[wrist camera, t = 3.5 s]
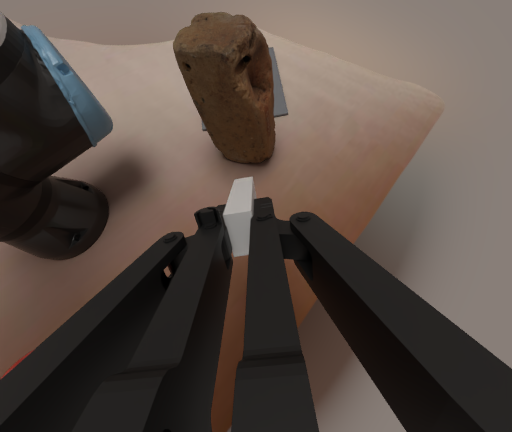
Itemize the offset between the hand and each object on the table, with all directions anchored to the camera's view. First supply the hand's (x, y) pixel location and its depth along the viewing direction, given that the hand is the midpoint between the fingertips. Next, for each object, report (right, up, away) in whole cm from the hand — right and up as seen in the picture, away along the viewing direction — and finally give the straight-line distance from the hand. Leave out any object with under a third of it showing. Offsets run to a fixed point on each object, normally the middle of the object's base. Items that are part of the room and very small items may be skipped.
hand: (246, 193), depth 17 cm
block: (-1, +11, +23) cm, 26 cm away
